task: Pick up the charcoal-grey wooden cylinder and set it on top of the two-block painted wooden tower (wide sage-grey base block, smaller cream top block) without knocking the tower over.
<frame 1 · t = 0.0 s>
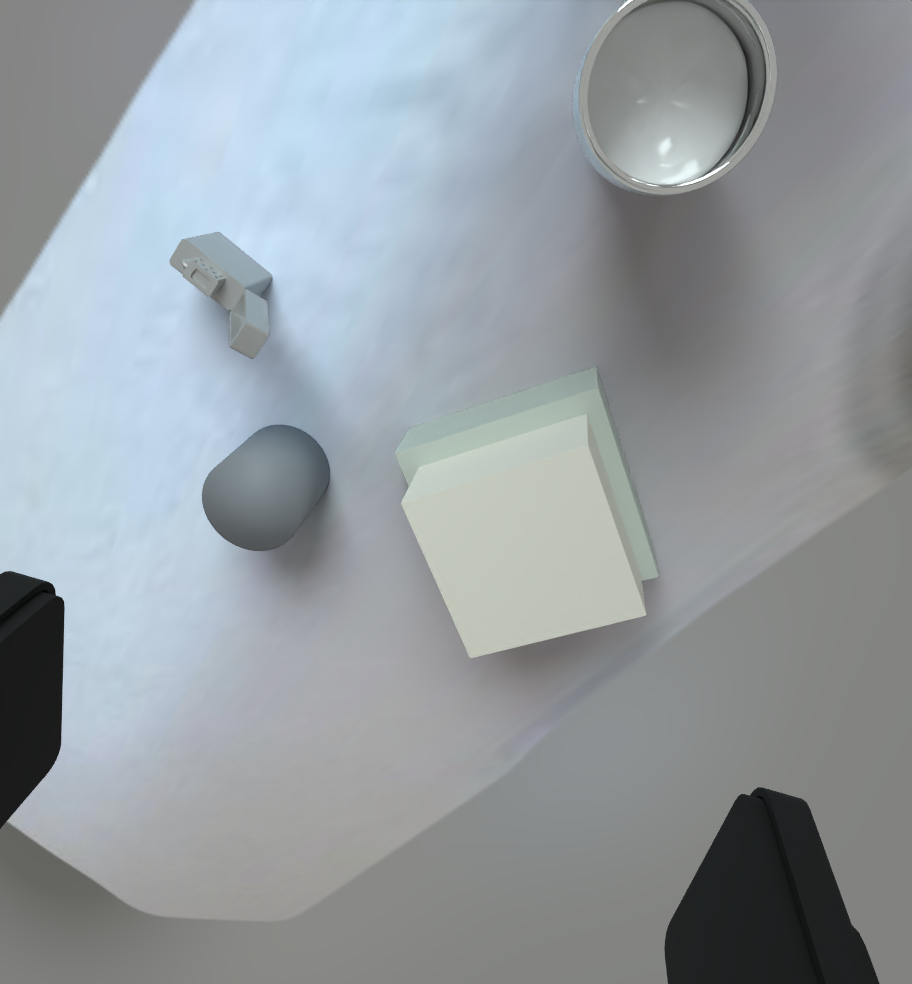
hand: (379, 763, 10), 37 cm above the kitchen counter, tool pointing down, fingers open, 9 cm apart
tower top block: (530, 518, 45), point 5 cm above the kitchen counter, touching tower bottom block
tower bottom block: (532, 482, 49), on the kitchen counter, touching tower top block
lighter: (259, 280, 46), on the kitchen counter
cylinder: (285, 468, 51), on the kitchen counter
beer glass: (641, 113, 40), on the kitchen counter
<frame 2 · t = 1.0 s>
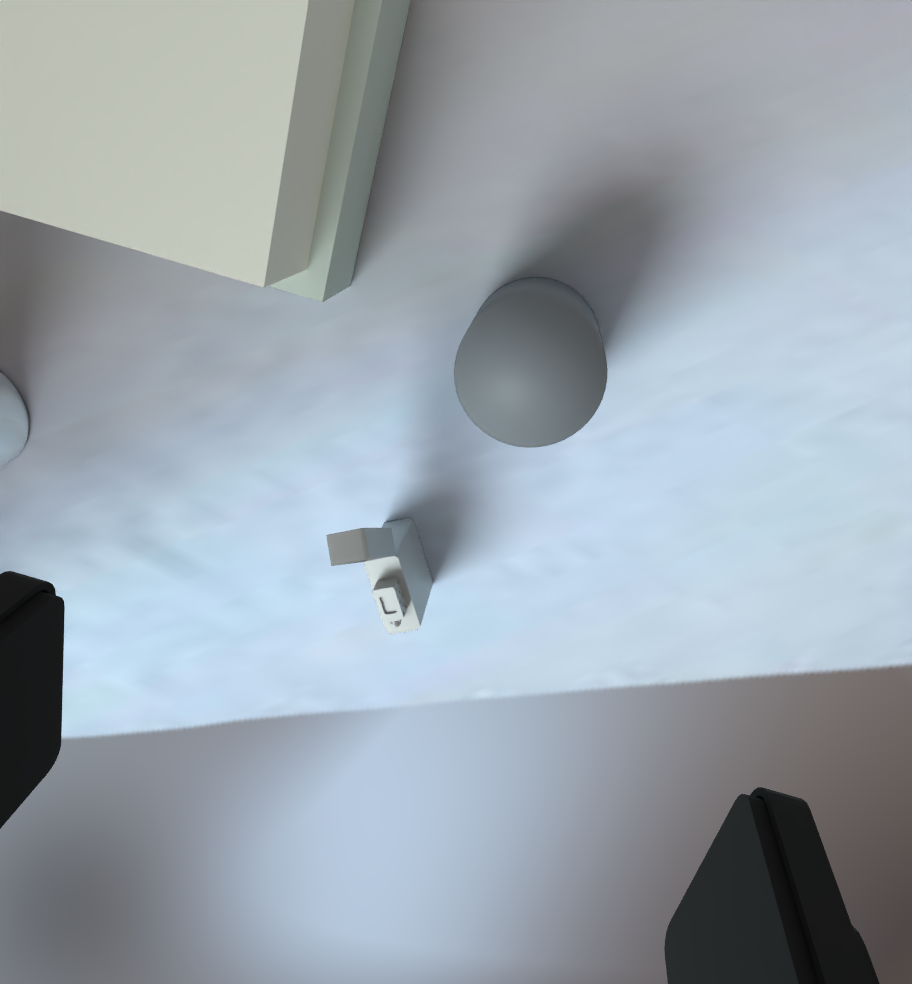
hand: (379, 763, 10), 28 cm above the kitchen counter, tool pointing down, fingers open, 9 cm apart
tower top block: (203, 101, 29), point 5 cm above the kitchen counter, touching tower bottom block
tower bottom block: (249, 110, 34), on the kitchen counter, touching tower top block
lighter: (400, 528, 41), on the kitchen counter
cylinder: (534, 343, 36), on the kitchen counter
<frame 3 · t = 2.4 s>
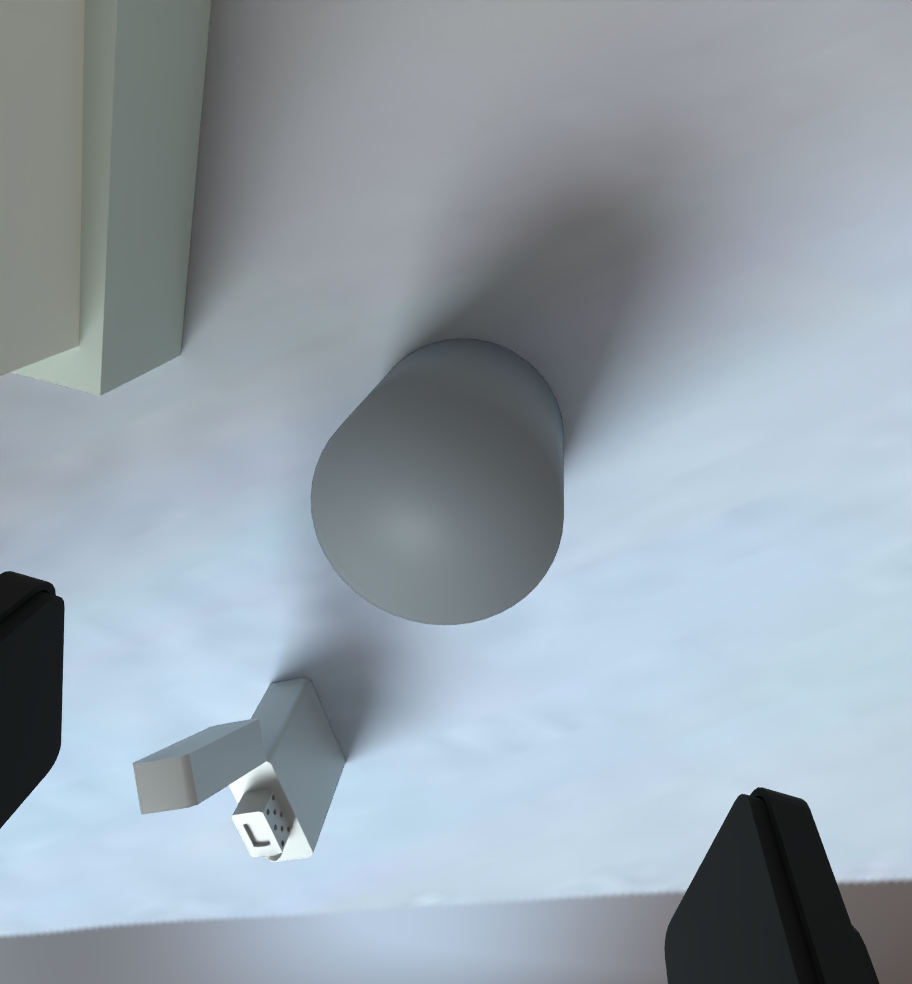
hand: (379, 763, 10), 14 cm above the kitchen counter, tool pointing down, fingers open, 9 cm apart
tower bottom block: (0, 94, 22), on the kitchen counter, touching tower top block
lighter: (295, 689, 29), on the kitchen counter
cylinder: (464, 436, 24), on the kitchen counter
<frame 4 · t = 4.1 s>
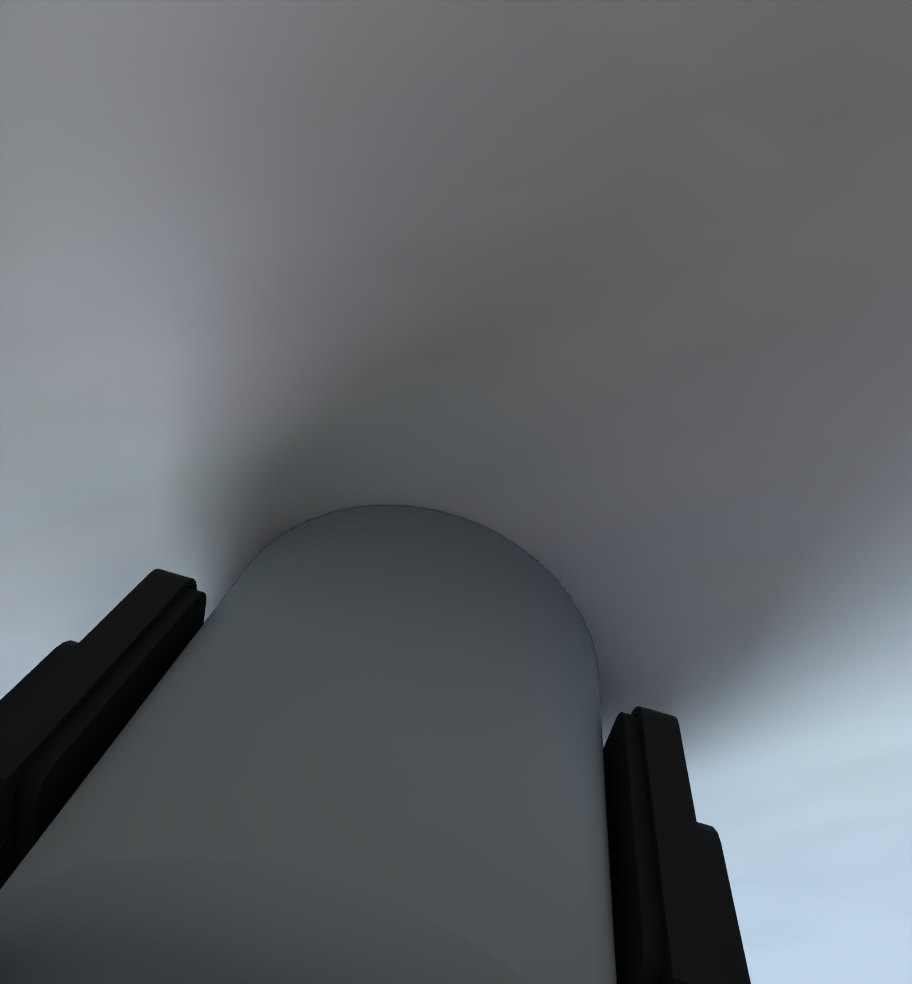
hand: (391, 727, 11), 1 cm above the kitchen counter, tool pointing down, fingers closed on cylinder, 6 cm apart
cylinder: (404, 679, 12), on the kitchen counter, touching gripper
when the fingers open (13 cm above the kitchen counter, at t = 10.5 s): cylinder drops 2 cm, resting on tower top block.
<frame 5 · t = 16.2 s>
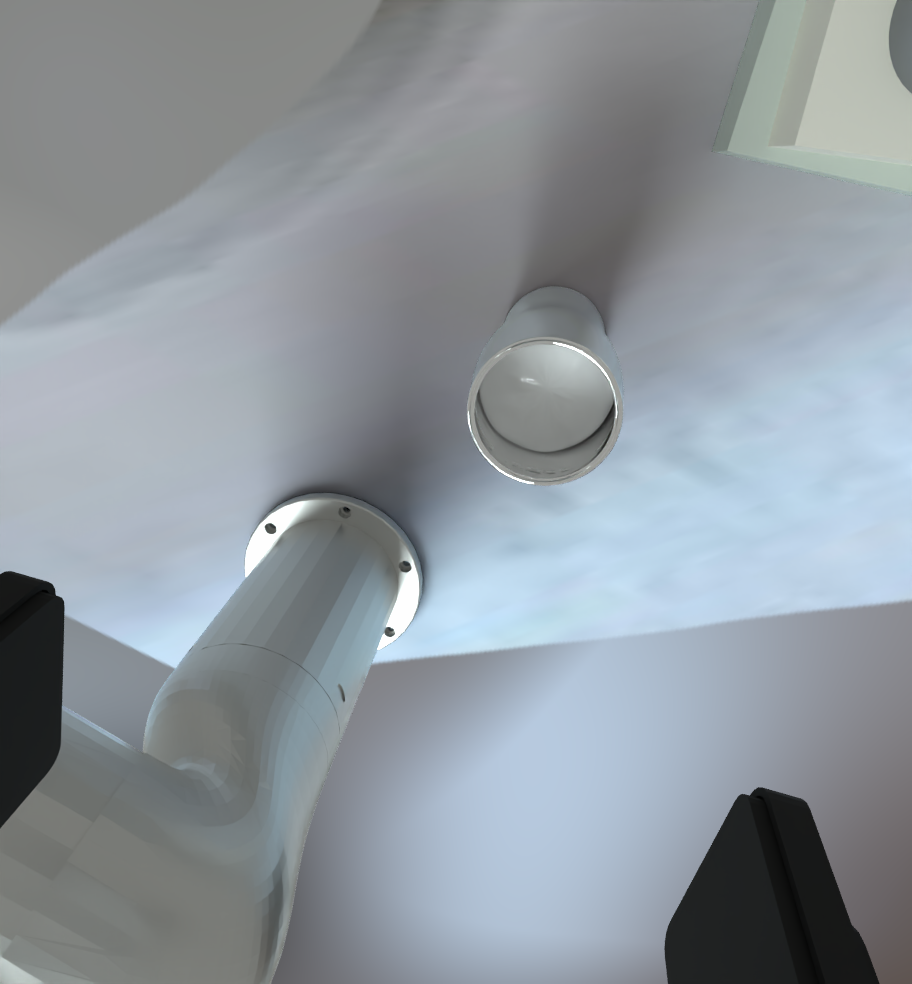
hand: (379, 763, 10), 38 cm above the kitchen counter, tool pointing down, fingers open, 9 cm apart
tower bottom block: (869, 49, 39), on the kitchen counter, touching tower top block
beer glass: (553, 337, 46), on the kitchen counter
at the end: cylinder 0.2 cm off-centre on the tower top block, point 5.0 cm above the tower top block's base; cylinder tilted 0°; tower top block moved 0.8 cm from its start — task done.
